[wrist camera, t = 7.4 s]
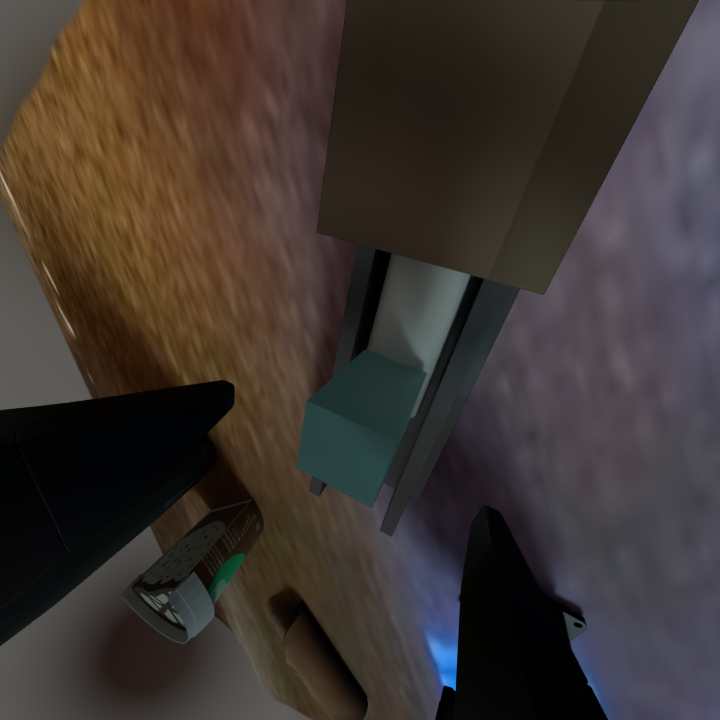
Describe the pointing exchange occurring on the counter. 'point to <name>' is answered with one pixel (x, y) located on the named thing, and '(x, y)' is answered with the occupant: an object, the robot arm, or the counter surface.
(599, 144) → the socket block
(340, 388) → the teal angled piece
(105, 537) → the portable speaker
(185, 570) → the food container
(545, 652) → the robot arm
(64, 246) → the counter surface
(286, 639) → the sunglasses case
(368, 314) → the sleeve channel
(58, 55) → the counter surface
